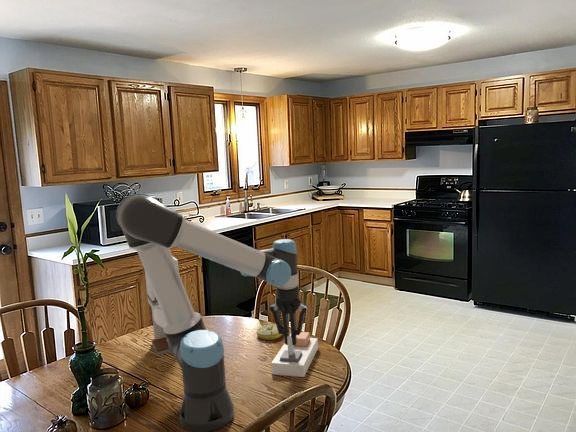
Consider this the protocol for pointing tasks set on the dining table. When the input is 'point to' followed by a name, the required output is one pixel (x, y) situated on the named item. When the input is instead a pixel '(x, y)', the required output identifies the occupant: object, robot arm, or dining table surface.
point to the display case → (158, 319)
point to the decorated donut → (268, 332)
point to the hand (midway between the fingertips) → (291, 353)
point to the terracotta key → (303, 339)
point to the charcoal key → (291, 356)
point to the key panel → (295, 367)
